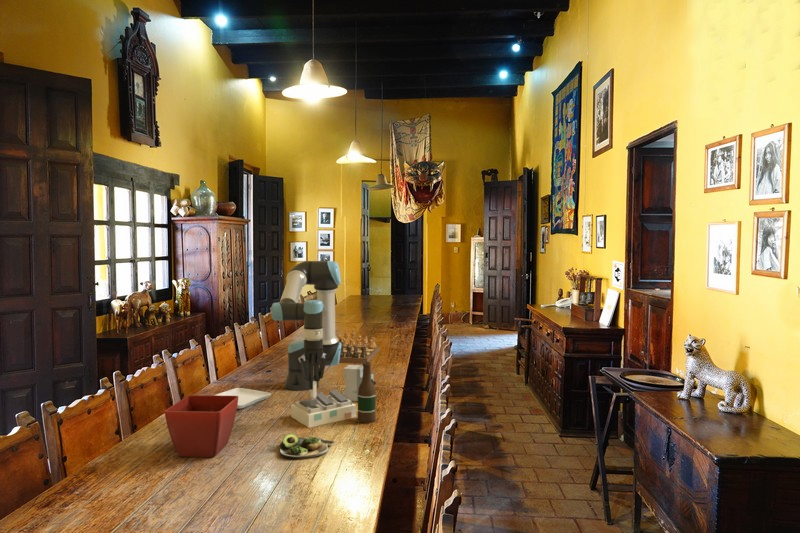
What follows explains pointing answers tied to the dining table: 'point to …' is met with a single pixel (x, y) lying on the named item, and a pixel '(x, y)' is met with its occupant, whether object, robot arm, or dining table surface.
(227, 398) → the plant pot
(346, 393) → the circuit breaker
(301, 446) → the salad plate
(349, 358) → the chess set
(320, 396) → the block
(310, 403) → the rocker
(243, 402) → the salad plate
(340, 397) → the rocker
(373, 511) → the dining table surface
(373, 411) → the beer bottle
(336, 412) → the console
